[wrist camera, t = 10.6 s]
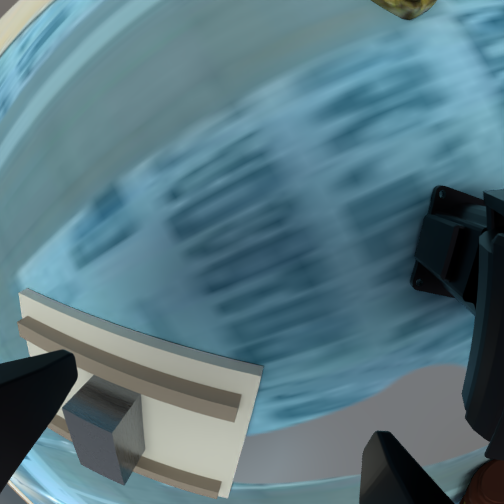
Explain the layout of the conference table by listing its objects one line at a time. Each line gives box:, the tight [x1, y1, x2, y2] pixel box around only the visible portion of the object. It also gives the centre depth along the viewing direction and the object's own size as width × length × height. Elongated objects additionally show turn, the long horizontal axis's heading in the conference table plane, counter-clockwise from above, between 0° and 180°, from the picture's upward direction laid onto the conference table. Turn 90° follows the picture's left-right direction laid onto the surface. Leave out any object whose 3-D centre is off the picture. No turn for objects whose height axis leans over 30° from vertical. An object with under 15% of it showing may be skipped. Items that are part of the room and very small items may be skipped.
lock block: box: [62, 375, 145, 485], centre depth 20 cm, size 4×8×5 cm, turn 170°
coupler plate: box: [17, 288, 263, 499], centre depth 23 cm, size 22×18×3 cm
